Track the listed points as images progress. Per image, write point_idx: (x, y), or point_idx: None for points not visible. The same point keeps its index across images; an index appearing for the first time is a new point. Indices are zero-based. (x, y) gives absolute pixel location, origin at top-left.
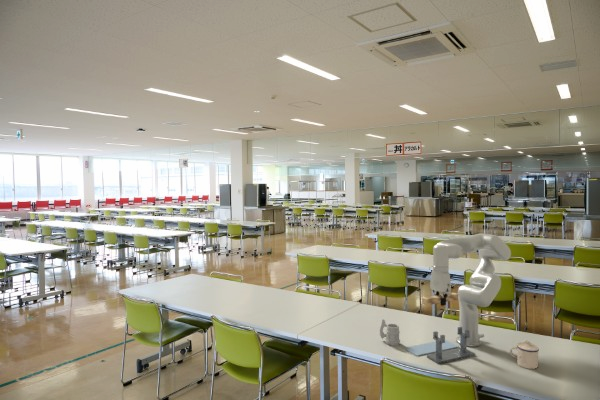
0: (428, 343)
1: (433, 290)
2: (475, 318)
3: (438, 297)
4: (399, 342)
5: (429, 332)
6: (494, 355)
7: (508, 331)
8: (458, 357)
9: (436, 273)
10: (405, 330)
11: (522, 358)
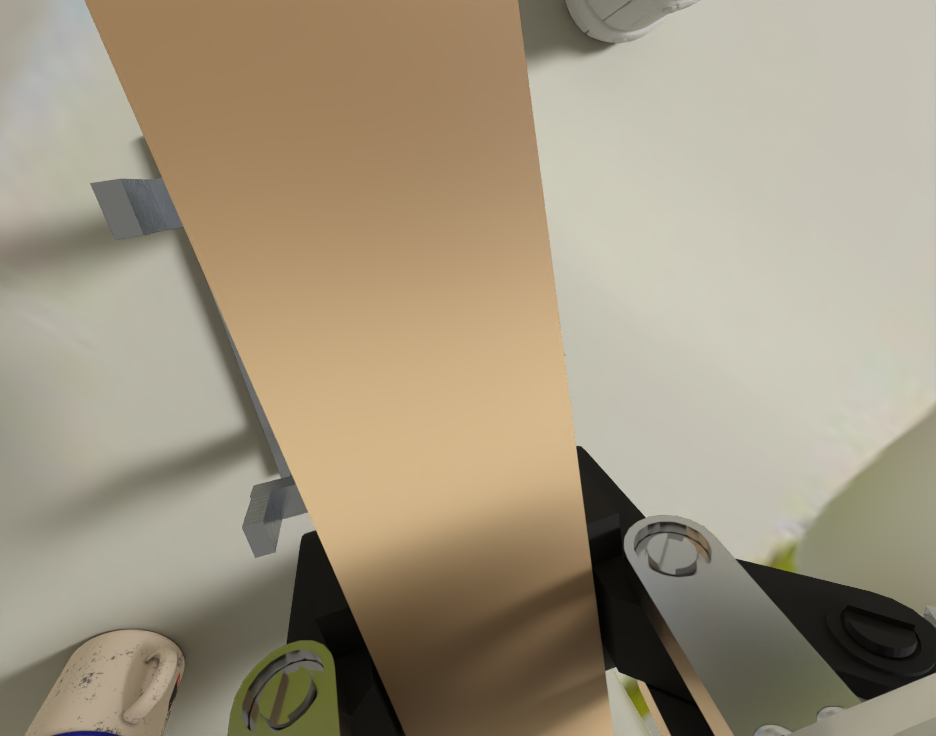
0: None
1: (902, 648)
2: None
3: (321, 538)
4: (576, 12)
5: (668, 376)
6: (275, 569)
7: None
8: (230, 341)
9: None
10: (757, 236)
11: (70, 682)
